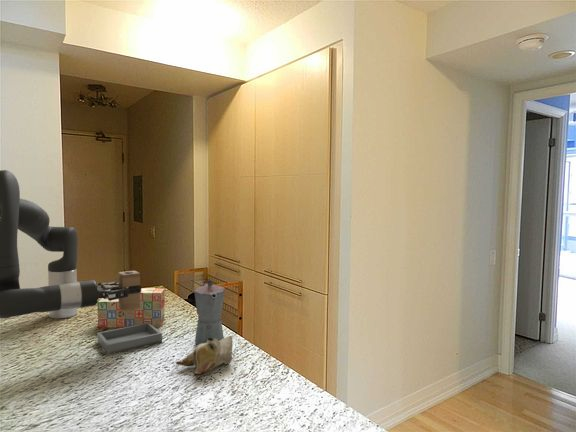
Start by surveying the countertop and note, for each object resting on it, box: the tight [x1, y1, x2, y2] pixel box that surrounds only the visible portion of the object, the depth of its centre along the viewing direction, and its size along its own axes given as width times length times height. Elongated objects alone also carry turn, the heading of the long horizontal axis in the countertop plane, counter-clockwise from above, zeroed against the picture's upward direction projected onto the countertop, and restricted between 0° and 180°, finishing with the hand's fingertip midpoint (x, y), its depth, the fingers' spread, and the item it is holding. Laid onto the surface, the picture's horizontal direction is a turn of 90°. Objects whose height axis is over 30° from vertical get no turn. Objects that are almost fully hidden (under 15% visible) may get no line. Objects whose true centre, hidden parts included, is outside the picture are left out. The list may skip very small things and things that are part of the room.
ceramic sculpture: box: [175, 335, 233, 377], centre depth 105 cm, size 11×9×15 cm
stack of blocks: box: [97, 287, 166, 328], centre depth 138 cm, size 21×6×12 cm, turn 97°
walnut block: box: [117, 270, 141, 311], centre depth 120 cm, size 5×5×11 cm
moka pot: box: [194, 280, 226, 346], centre depth 123 cm, size 10×15×20 cm, turn 27°
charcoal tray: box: [96, 323, 163, 356], centre depth 122 cm, size 12×16×3 cm
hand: (137, 286), depth 122 cm, fingers closed on walnut block, 5 cm apart
